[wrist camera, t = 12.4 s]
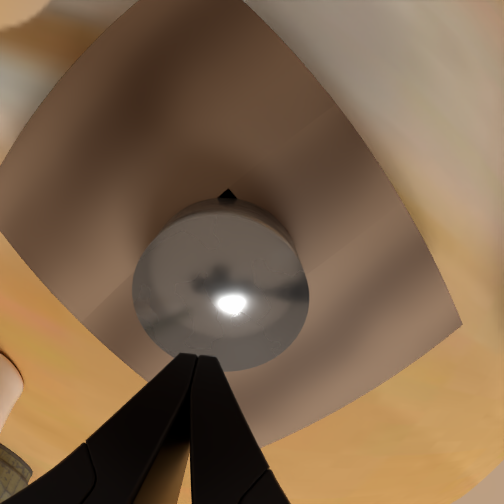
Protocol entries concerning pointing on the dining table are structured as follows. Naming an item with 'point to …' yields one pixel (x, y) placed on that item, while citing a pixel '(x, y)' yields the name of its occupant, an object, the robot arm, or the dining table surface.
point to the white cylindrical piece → (8, 388)
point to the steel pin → (222, 285)
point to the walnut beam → (213, 185)
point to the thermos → (12, 473)
